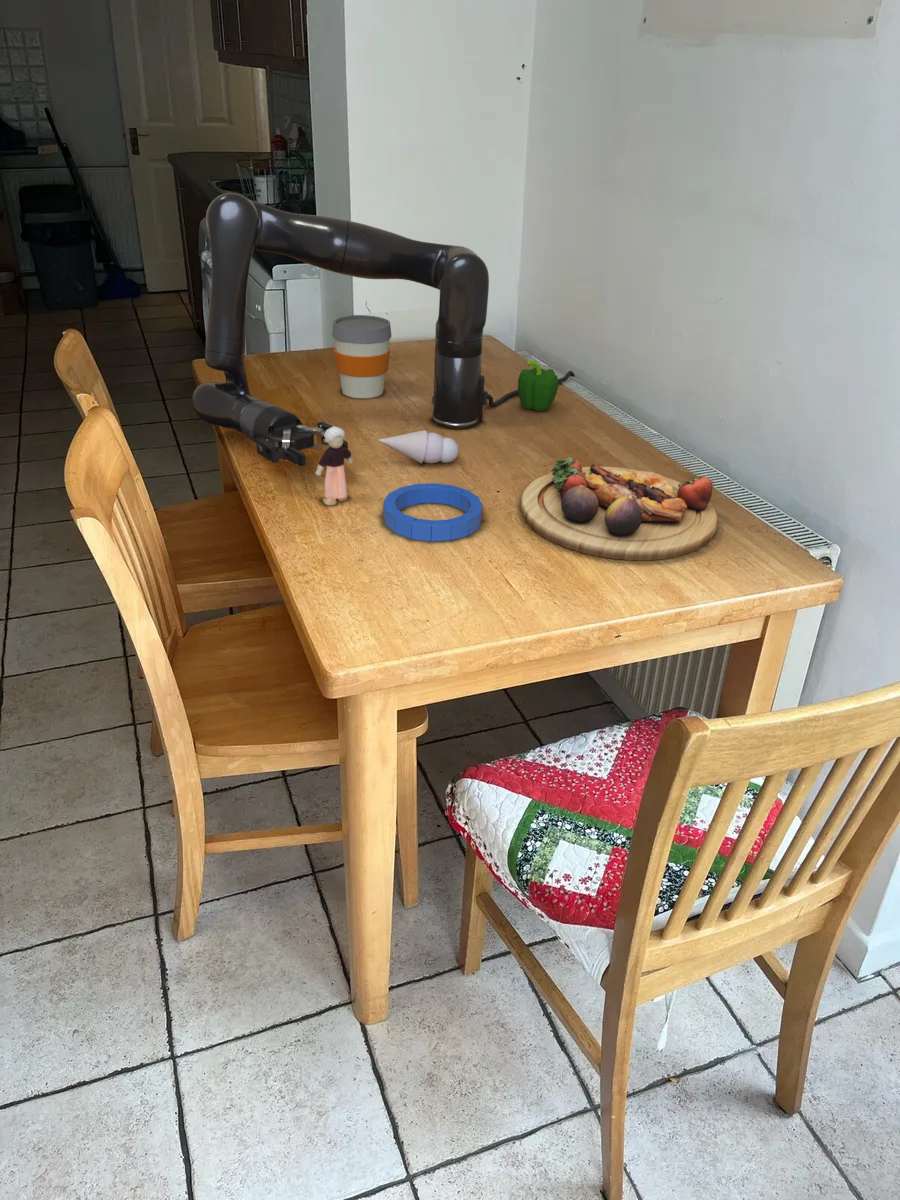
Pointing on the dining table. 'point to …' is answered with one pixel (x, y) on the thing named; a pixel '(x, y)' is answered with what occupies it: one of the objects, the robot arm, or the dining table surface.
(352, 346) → the reusable coffee cup
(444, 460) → the ice cream cone
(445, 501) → the tape ring
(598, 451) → the dining table surface
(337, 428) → the grandmother figurine
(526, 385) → the bell pepper
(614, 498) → the wooden plate
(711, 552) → the dining table surface
